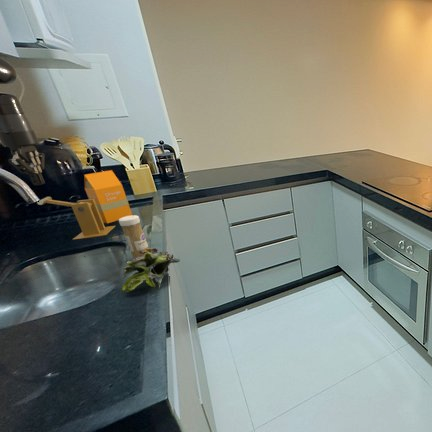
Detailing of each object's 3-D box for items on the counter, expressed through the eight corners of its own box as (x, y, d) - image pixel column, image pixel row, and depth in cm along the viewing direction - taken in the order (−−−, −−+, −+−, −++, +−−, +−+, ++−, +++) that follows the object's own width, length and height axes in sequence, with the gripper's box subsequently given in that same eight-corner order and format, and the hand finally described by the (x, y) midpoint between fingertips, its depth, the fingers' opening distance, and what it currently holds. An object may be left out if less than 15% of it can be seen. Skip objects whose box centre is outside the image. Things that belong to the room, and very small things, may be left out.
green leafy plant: (163, 293, 83) (180, 251, 85) (170, 303, 75) (189, 258, 77) (111, 286, 75) (132, 241, 77) (114, 297, 67) (136, 247, 69)
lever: (36, 205, 96) (37, 199, 96) (46, 201, 100) (46, 194, 100) (86, 212, 102) (86, 206, 101) (92, 208, 106) (93, 202, 105)
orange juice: (133, 218, 122) (117, 170, 115) (108, 225, 115) (88, 175, 108) (123, 215, 125) (106, 169, 118) (97, 222, 118) (78, 173, 111)
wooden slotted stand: (73, 242, 101) (58, 207, 97) (86, 232, 109) (72, 199, 105) (106, 237, 105) (93, 203, 100) (116, 228, 112) (104, 196, 108)
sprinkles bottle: (149, 259, 90) (135, 218, 85) (131, 263, 88) (115, 221, 83) (153, 253, 93) (139, 213, 89) (135, 256, 92) (120, 216, 87)
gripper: (13, 128, 95) (37, 181, 101) (-20, 132, 83) (9, 191, 89) (44, 127, 97) (65, 178, 104) (16, 131, 86) (42, 188, 92)
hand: (39, 184), depth 96 cm, fingers closed
